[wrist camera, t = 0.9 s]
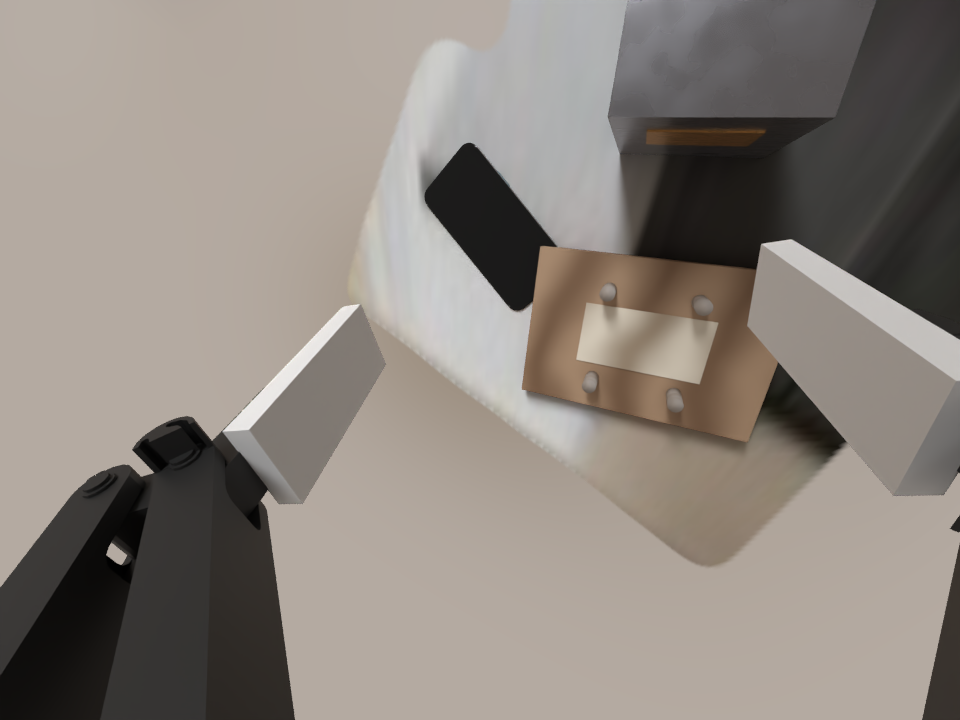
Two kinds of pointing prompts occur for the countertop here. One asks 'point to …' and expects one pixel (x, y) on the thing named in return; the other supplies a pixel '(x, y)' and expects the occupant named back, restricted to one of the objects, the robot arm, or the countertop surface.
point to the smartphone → (489, 224)
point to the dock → (648, 339)
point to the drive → (731, 73)
